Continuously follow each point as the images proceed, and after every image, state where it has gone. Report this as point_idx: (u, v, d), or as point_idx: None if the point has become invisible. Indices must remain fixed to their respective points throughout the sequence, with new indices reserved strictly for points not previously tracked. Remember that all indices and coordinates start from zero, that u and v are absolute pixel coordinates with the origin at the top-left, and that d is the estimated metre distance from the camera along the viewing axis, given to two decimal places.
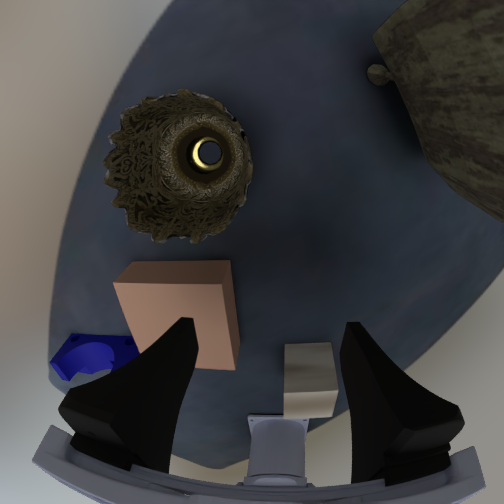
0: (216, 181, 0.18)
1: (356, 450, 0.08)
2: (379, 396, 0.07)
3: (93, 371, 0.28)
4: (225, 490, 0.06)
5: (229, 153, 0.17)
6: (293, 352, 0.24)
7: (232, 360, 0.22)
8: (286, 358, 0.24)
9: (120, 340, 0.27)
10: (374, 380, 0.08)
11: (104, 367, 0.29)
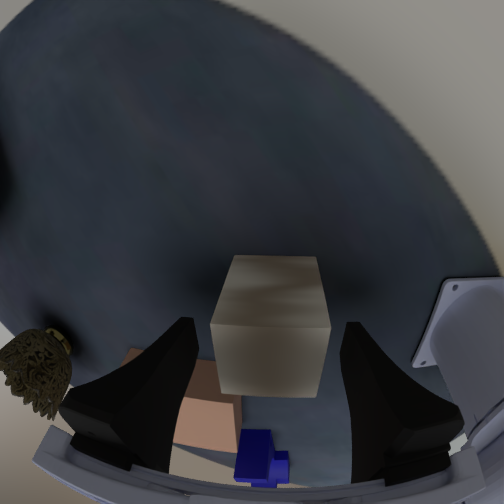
0: None
1: (355, 450, 0.08)
2: (379, 396, 0.07)
3: (285, 475, 0.25)
4: (225, 490, 0.06)
5: None
6: None
7: (213, 402, 0.16)
8: None
9: None
10: (374, 380, 0.08)
11: (285, 465, 0.25)
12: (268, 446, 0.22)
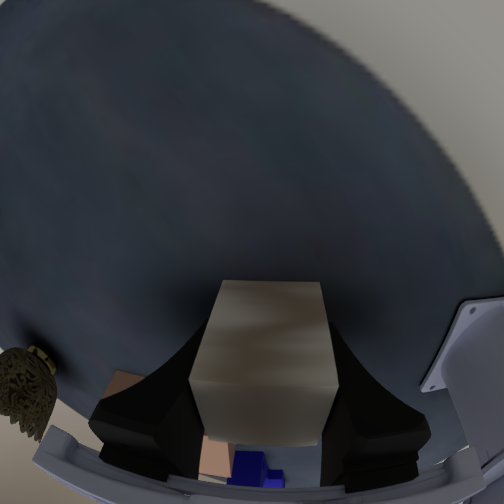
0: (44, 367, 0.16)
1: (324, 453, 0.08)
2: (341, 399, 0.07)
3: None
4: (226, 490, 0.06)
5: None
6: None
7: (205, 436, 0.14)
8: None
9: None
10: (338, 382, 0.08)
11: (279, 484, 0.23)
12: (260, 469, 0.19)
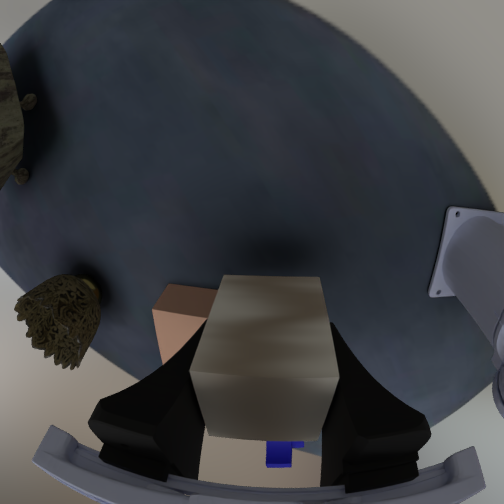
0: None
1: (324, 453, 0.08)
2: (341, 399, 0.07)
3: None
4: (225, 490, 0.06)
5: None
6: None
7: None
8: None
9: None
10: (338, 382, 0.08)
11: None
12: None
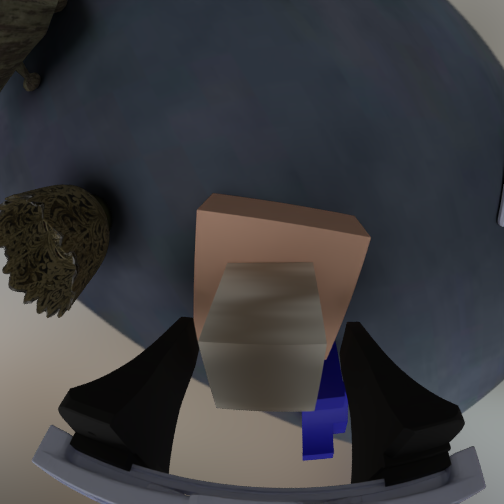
0: None
1: (355, 450, 0.08)
2: (379, 396, 0.07)
3: (344, 417, 0.22)
4: (225, 490, 0.06)
5: None
6: None
7: (347, 235, 0.14)
8: None
9: None
10: (374, 380, 0.08)
11: (344, 402, 0.23)
12: (337, 357, 0.19)
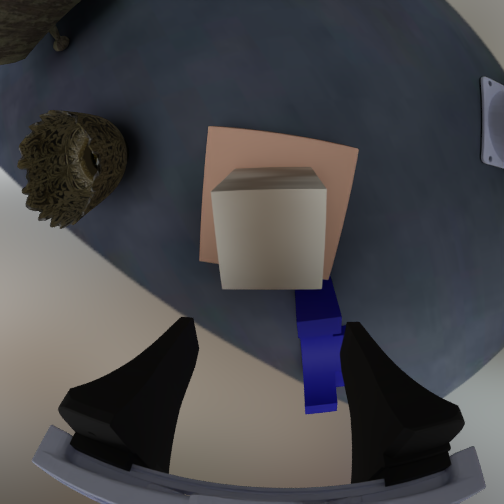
0: None
1: (356, 450, 0.08)
2: (379, 396, 0.07)
3: None
4: (226, 490, 0.06)
5: None
6: None
7: (337, 146, 0.15)
8: None
9: None
10: (374, 380, 0.08)
11: None
12: (332, 287, 0.21)
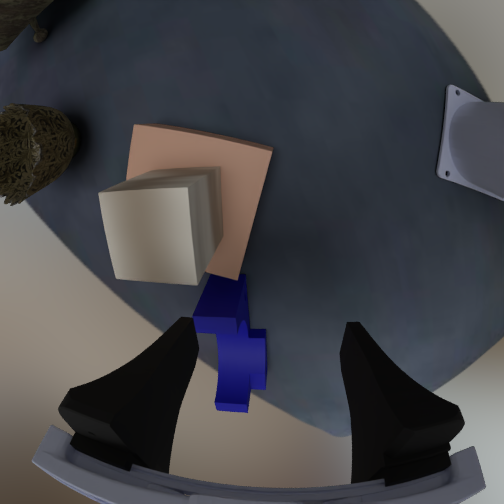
0: None
1: (356, 450, 0.08)
2: (379, 396, 0.07)
3: (262, 369, 0.25)
4: (226, 490, 0.06)
5: None
6: None
7: (250, 147, 0.15)
8: None
9: None
10: (374, 379, 0.08)
11: (261, 351, 0.25)
12: (241, 288, 0.21)
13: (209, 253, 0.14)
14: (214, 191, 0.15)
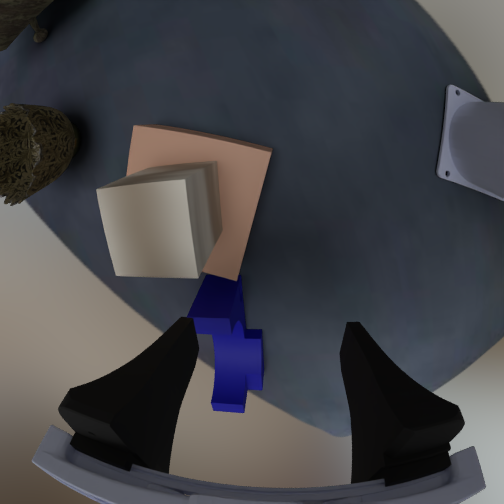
0: None
1: (356, 450, 0.08)
2: (379, 396, 0.07)
3: (258, 369, 0.25)
4: (226, 490, 0.06)
5: None
6: None
7: (249, 148, 0.15)
8: None
9: None
10: (374, 379, 0.08)
11: (257, 352, 0.25)
12: (236, 288, 0.22)
13: (209, 247, 0.14)
14: (212, 185, 0.15)
